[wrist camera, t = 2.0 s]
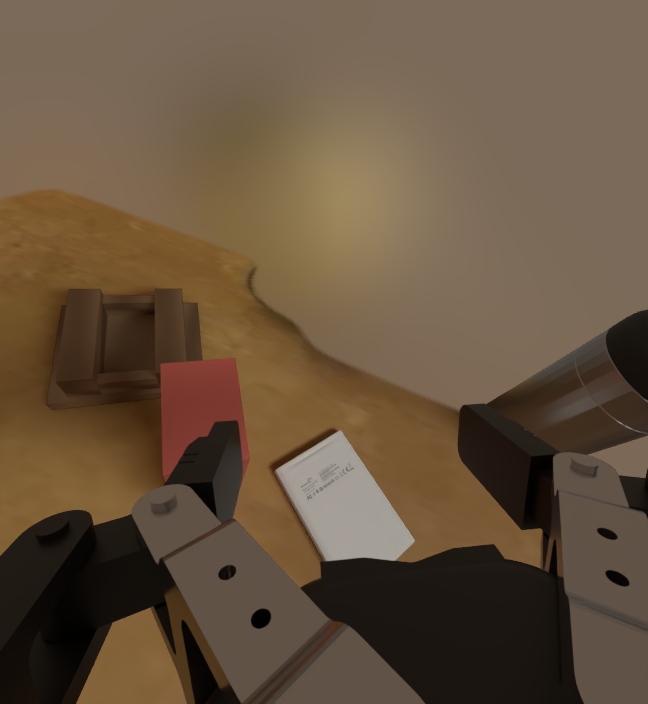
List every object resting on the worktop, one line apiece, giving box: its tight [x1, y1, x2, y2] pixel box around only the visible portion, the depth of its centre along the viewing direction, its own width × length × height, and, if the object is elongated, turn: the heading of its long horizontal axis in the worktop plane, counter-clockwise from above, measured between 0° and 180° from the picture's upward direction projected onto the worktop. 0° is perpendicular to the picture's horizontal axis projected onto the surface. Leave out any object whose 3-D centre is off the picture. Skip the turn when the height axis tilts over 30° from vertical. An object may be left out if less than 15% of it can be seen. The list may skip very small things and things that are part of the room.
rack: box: [46, 289, 202, 410], centre depth 33 cm, size 13×11×4 cm
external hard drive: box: [274, 430, 415, 561], centre depth 32 cm, size 2×8×12 cm
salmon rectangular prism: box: [160, 358, 250, 487], centre depth 24 cm, size 4×6×16 cm, turn 15°
